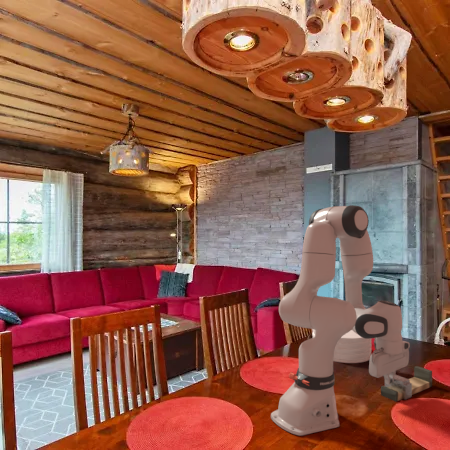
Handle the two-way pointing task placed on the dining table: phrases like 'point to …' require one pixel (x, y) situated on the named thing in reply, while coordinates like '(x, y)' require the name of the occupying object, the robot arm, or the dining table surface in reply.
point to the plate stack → (351, 348)
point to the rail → (419, 383)
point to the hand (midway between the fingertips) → (389, 383)
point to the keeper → (401, 386)
